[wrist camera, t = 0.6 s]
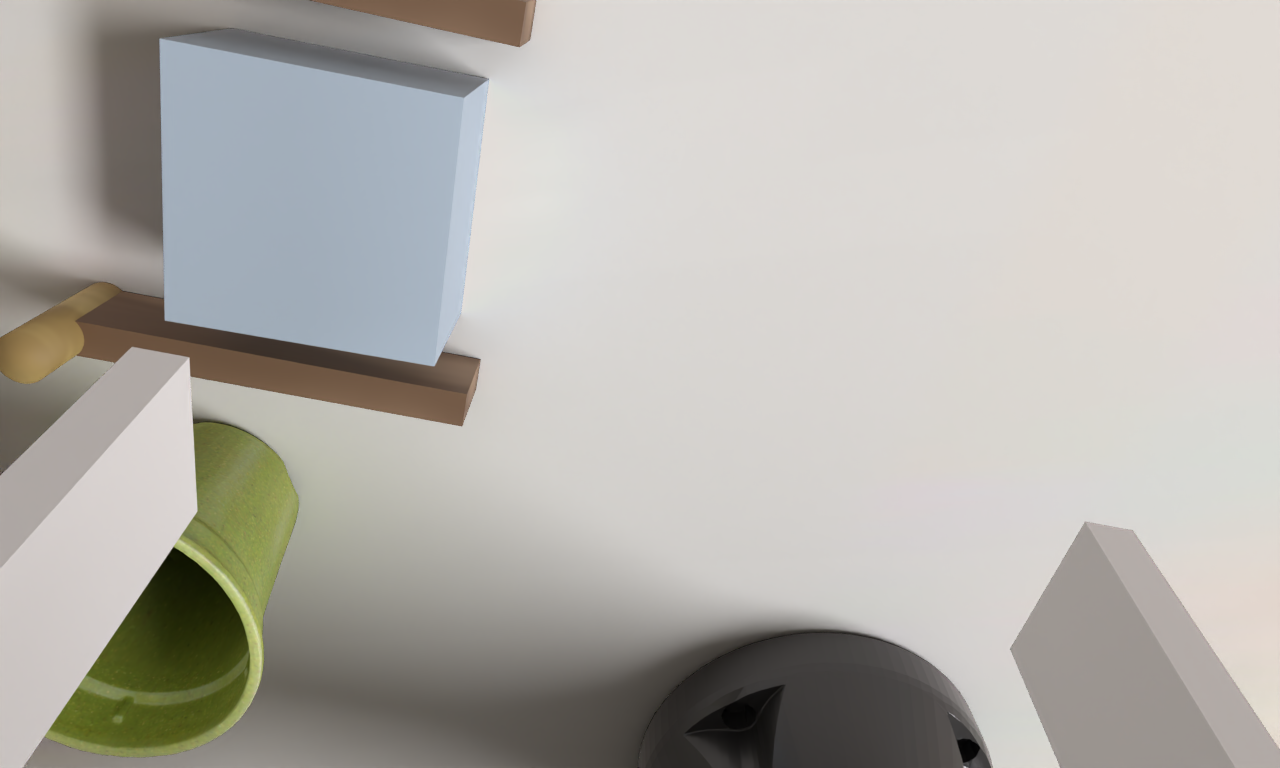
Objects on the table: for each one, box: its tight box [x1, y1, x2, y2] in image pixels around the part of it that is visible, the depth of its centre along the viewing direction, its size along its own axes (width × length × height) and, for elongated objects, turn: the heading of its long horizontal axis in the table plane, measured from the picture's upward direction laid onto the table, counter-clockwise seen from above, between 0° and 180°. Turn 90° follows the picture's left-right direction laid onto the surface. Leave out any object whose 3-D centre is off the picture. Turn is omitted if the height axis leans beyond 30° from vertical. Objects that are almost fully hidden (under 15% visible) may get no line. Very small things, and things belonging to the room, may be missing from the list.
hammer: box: [0, 0, 536, 426], centre depth 28 cm, size 14×14×5 cm
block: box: [159, 28, 489, 366], centre depth 28 cm, size 8×8×5 cm
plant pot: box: [44, 422, 299, 757], centre depth 31 cm, size 9×9×9 cm
